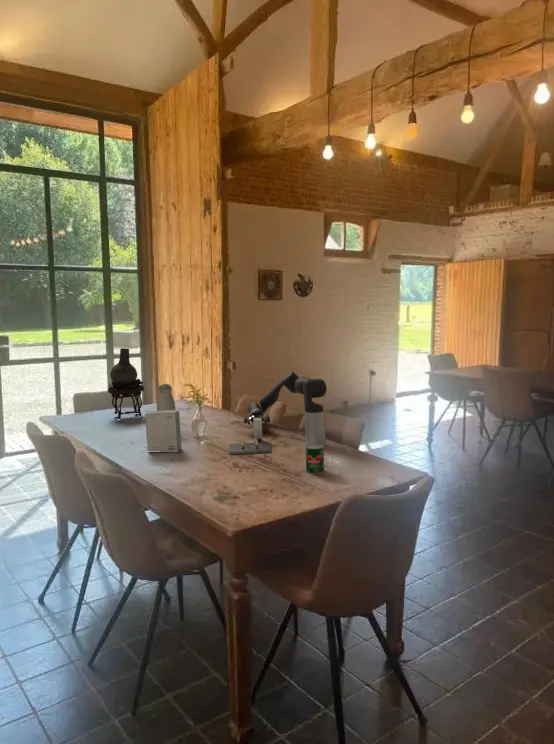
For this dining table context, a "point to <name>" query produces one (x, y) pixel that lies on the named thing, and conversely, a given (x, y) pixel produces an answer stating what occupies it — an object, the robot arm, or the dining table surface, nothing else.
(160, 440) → the hard drive box
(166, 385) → the grey bottle
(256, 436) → the block
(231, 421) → the dining table surface
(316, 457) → the canned tomato
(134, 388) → the brazier
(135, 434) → the dining table surface
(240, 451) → the pin tray
